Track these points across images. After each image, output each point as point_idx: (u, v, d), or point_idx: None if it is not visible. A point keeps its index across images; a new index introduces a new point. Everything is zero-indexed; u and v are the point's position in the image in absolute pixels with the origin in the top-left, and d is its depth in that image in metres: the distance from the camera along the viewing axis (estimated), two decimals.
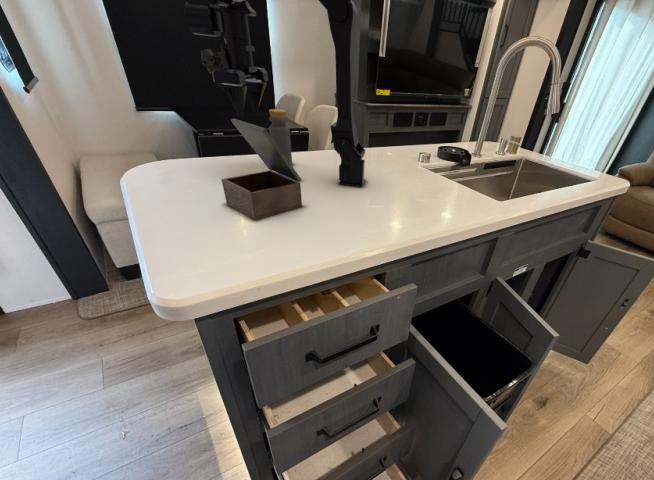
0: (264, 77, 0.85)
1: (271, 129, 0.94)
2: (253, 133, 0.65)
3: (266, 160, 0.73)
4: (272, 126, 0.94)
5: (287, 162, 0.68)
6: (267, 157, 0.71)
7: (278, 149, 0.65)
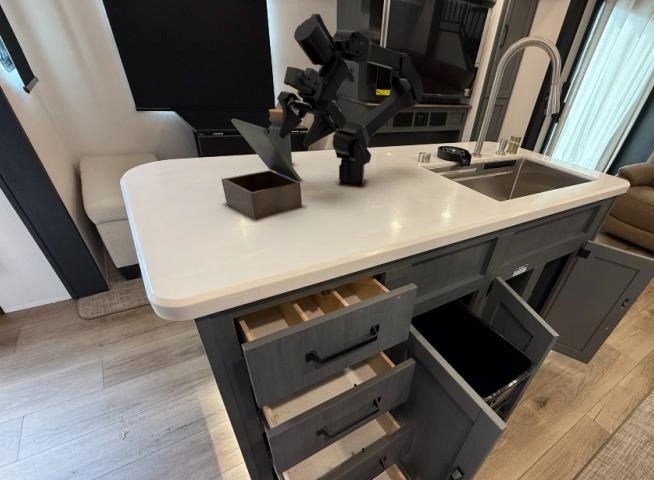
0: None
1: (271, 129, 0.94)
2: (253, 133, 0.65)
3: (266, 160, 0.73)
4: (272, 126, 0.94)
5: (287, 162, 0.68)
6: (267, 157, 0.71)
7: (278, 149, 0.65)
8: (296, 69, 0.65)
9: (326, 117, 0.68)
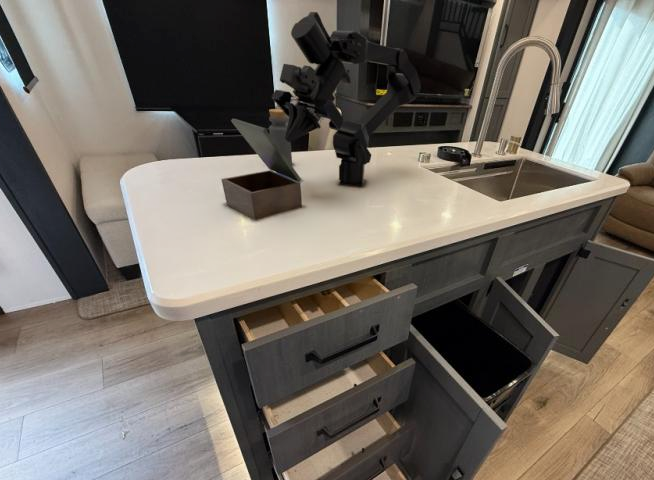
0: None
1: (271, 129, 0.94)
2: (253, 133, 0.65)
3: (266, 160, 0.73)
4: (272, 126, 0.94)
5: (287, 162, 0.68)
6: (267, 157, 0.71)
7: (278, 149, 0.65)
8: (293, 66, 0.64)
9: (309, 112, 0.69)
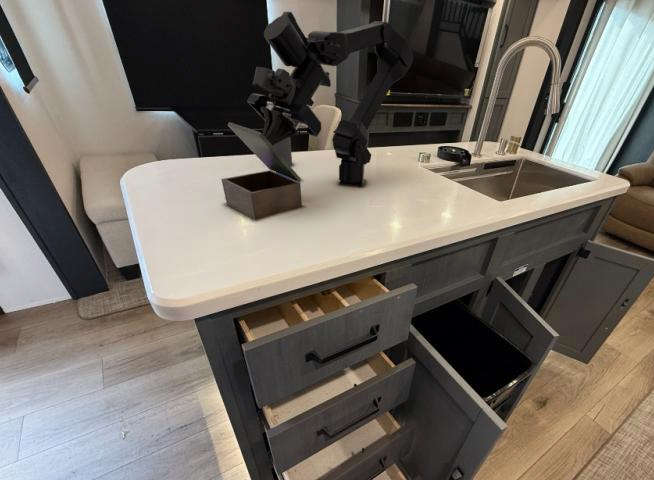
0: None
1: None
2: (250, 137, 0.65)
3: (266, 161, 0.73)
4: None
5: (286, 164, 0.68)
6: (266, 159, 0.71)
7: (276, 152, 0.65)
8: (266, 69, 0.60)
9: (285, 118, 0.66)
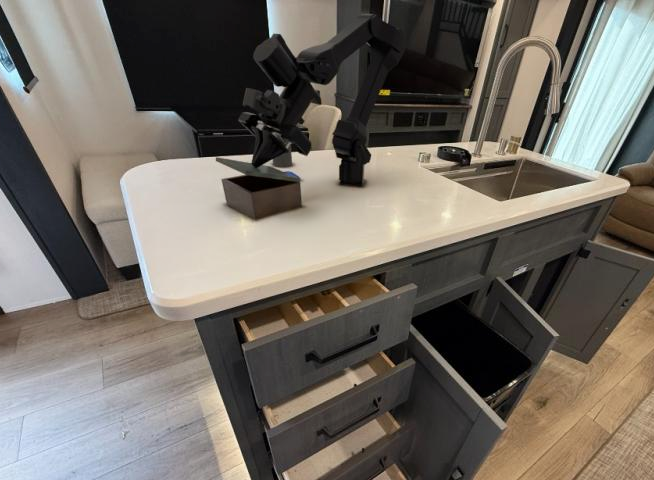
0: None
1: None
2: None
3: None
4: None
5: (280, 177, 0.68)
6: None
7: (267, 175, 0.66)
8: (255, 91, 0.61)
9: (276, 138, 0.66)
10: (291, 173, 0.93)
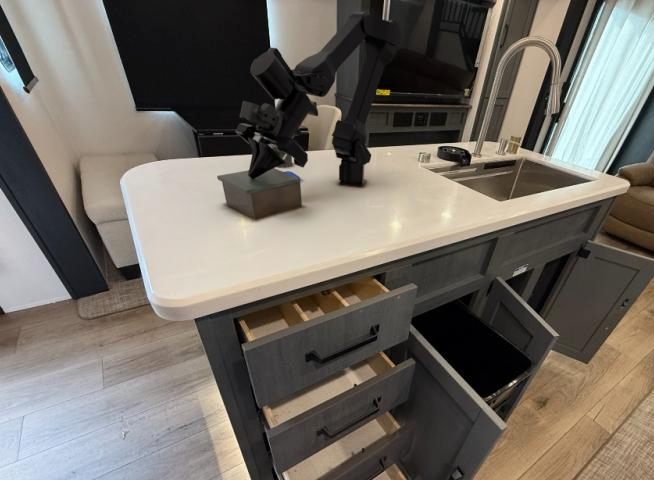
0: None
1: None
2: None
3: None
4: None
5: (280, 184, 0.69)
6: None
7: (267, 187, 0.67)
8: (252, 104, 0.61)
9: (272, 150, 0.66)
10: (291, 173, 0.93)
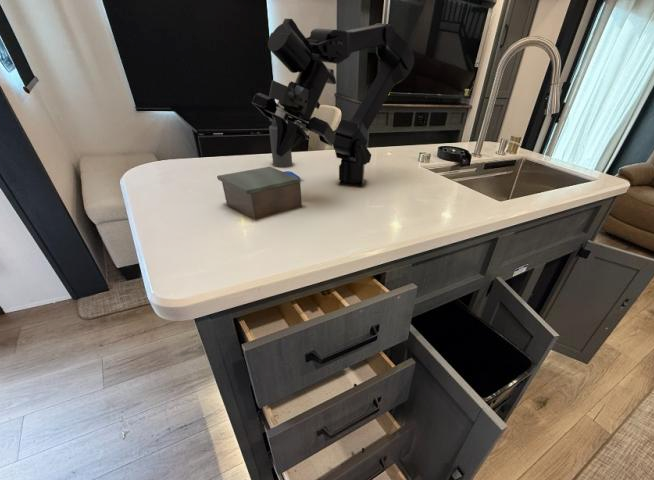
0: None
1: (271, 129, 0.94)
2: None
3: None
4: (272, 126, 0.94)
5: (280, 184, 0.69)
6: None
7: (267, 187, 0.67)
8: (286, 87, 0.62)
9: (301, 129, 0.69)
10: (291, 173, 0.93)
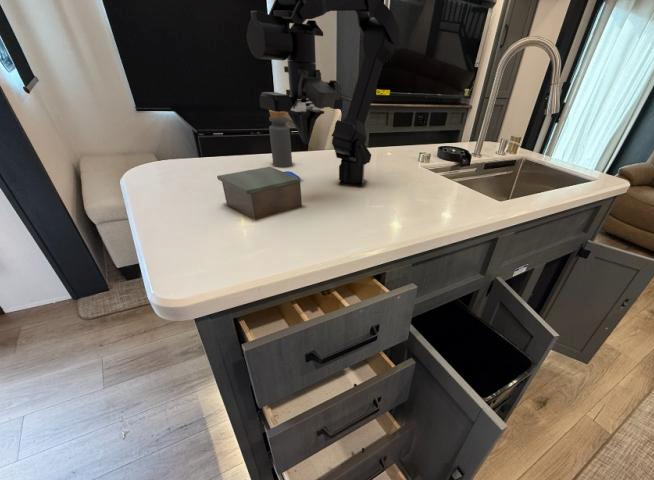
0: None
1: (271, 129, 0.94)
2: None
3: None
4: (272, 126, 0.94)
5: (280, 184, 0.69)
6: None
7: (267, 187, 0.67)
8: (335, 94, 0.66)
9: None
10: (291, 173, 0.93)
